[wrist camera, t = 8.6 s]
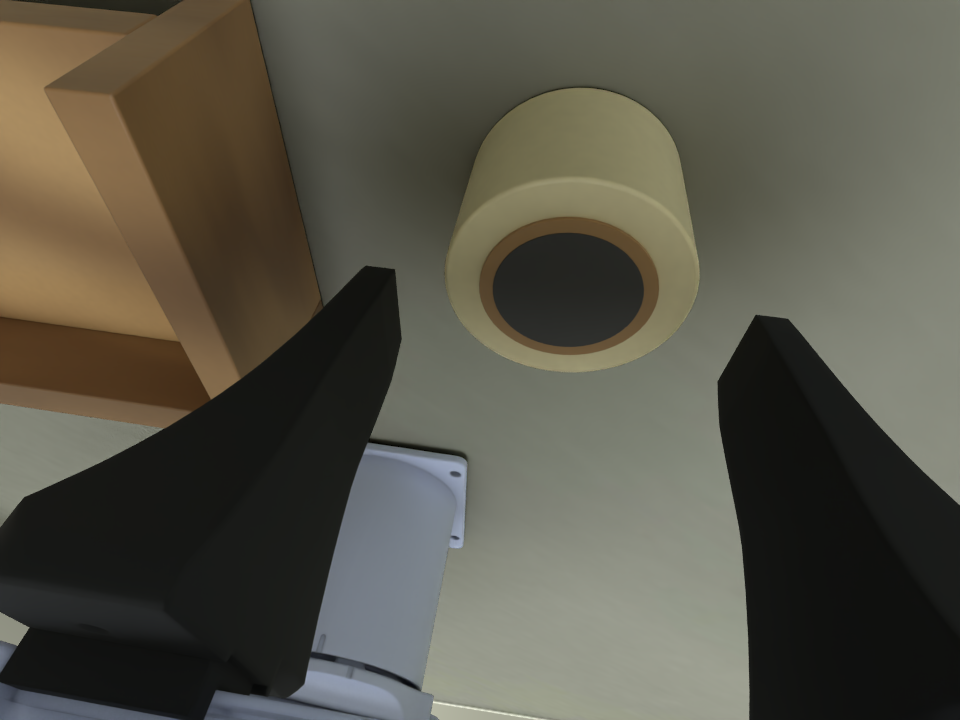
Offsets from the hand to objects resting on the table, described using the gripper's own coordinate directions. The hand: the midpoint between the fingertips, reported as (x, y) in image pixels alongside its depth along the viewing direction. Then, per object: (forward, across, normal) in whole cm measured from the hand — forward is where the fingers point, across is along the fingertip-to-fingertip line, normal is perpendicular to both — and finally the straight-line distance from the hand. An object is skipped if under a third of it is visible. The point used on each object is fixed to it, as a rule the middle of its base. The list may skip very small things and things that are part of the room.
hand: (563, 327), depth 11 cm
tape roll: (+5, 0, 0) cm, 5 cm away
